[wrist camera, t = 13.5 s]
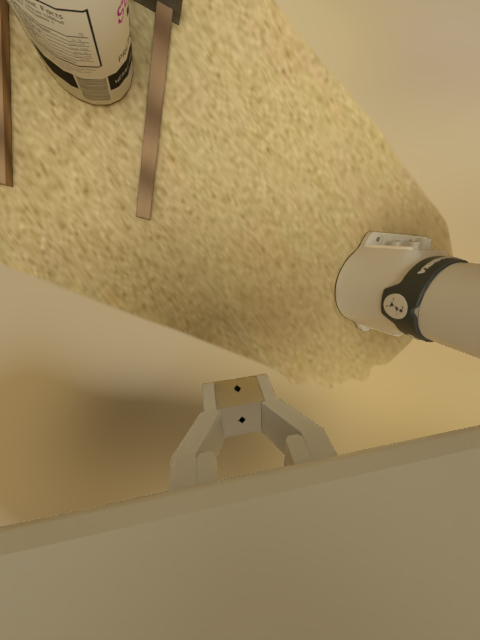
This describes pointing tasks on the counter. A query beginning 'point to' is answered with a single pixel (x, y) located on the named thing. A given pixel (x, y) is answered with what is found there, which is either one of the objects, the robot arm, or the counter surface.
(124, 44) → the supplement can
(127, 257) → the counter surface
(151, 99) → the u-shaped wooden rack
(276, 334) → the counter surface
